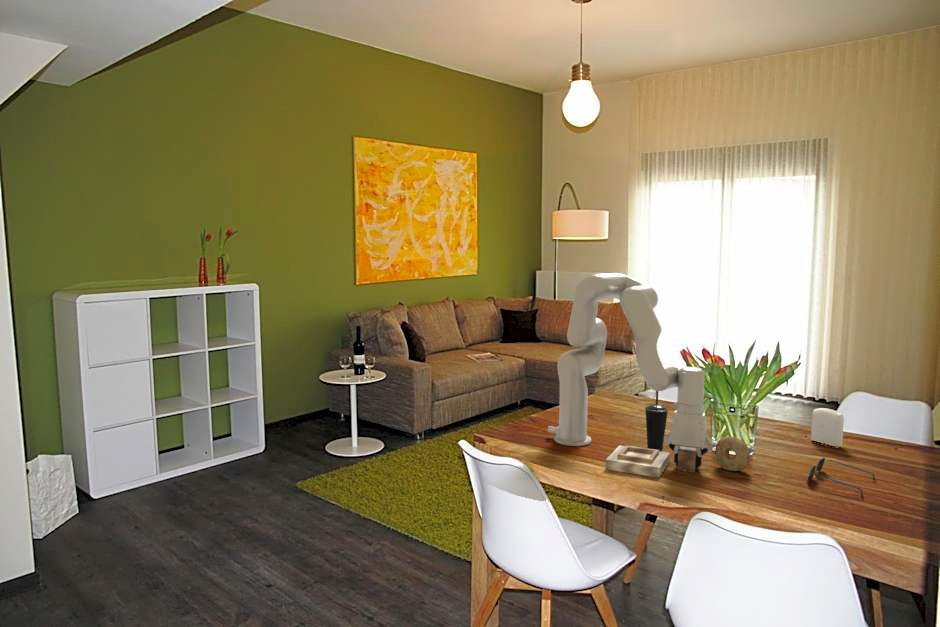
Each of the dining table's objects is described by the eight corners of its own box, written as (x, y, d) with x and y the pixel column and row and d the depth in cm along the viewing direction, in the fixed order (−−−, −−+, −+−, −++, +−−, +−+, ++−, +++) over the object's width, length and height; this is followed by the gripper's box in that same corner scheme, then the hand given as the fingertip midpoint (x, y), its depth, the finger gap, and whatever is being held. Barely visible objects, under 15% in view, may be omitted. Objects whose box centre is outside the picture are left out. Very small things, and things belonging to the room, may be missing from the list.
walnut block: (677, 470, 208) (678, 450, 208) (680, 465, 213) (681, 446, 212) (694, 472, 206) (695, 453, 206) (697, 467, 211) (698, 448, 210)
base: (605, 469, 209) (606, 455, 208) (619, 454, 223) (619, 441, 222) (659, 477, 202) (659, 463, 201) (669, 461, 216) (670, 448, 215)
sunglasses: (820, 471, 210) (823, 455, 209) (874, 488, 200) (878, 472, 200) (804, 486, 196) (808, 470, 195) (862, 506, 187) (866, 489, 186)
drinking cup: (667, 452, 225) (670, 392, 223) (643, 451, 227) (645, 391, 224) (666, 445, 233) (668, 387, 230) (642, 444, 234) (644, 386, 232)
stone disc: (711, 467, 211) (713, 435, 210) (716, 464, 214) (718, 433, 212) (746, 475, 204) (747, 442, 203) (750, 472, 207) (752, 440, 206)
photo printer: (808, 441, 239) (810, 406, 237) (816, 439, 241) (818, 405, 239) (836, 449, 230) (838, 413, 228) (844, 447, 232) (846, 411, 231)
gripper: (658, 407, 208) (656, 466, 210) (718, 414, 200) (715, 475, 202) (663, 402, 215) (661, 459, 217) (721, 408, 207) (718, 467, 209)
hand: (687, 466), depth 210 cm, fingers closed on walnut block, 5 cm apart
